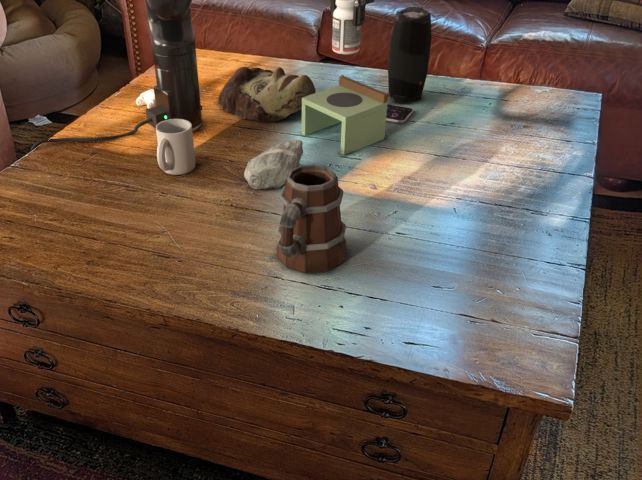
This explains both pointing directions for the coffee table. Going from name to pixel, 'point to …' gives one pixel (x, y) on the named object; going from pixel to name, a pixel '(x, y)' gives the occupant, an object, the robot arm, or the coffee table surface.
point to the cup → (175, 146)
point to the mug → (311, 220)
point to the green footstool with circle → (347, 113)
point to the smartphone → (398, 113)
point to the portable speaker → (409, 54)
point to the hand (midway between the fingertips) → (346, 21)
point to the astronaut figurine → (147, 99)
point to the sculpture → (264, 94)
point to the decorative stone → (273, 165)
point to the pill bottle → (345, 29)
